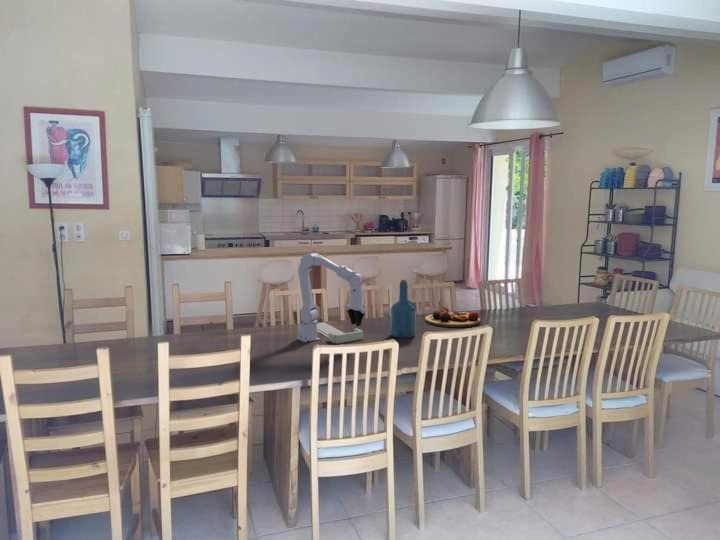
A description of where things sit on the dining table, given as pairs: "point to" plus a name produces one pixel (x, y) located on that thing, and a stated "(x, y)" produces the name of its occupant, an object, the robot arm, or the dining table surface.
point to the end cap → (346, 336)
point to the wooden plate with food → (452, 318)
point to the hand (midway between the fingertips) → (355, 324)
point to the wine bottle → (403, 315)
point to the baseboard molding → (327, 329)
